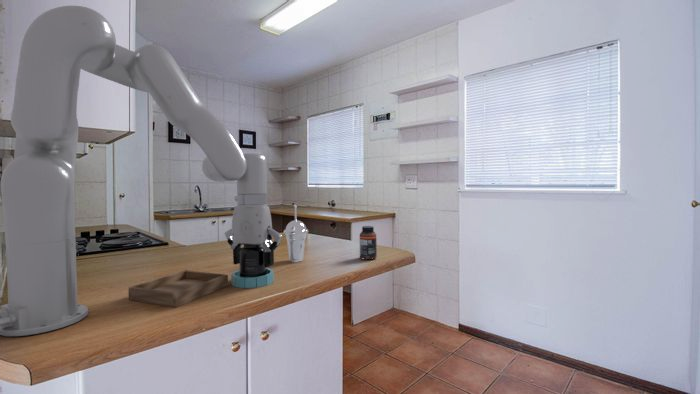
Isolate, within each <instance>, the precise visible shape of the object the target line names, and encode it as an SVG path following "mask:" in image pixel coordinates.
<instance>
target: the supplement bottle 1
mask: <svg viewBox="0 0 700 394" xmlns="http://www.w3.org/2000/svg"><path fill="white" fill-rule="evenodd" d="M242 245H243V247H241V249H240V251H239V264H238V265H239V270H240V277H258V276H264V275H266V268H267V267H264V252H266V250H265V249H264V247H263V246H262V244H261V245H249V244H242Z"/></svg>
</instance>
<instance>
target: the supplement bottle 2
mask: <svg viewBox="0 0 700 394" xmlns="http://www.w3.org/2000/svg"><path fill="white" fill-rule="evenodd" d="M374 229H375V227H374V226H373V225H364V226H362V227H361V232H360V233H359V258H360V259H361V258H364V259H372V258H376V259H377V254H378V253H377V251H378V250H377V249H378V248H377V246H378V245H377V244H378V243H377V233H376V232H375V231H374Z"/></svg>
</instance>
